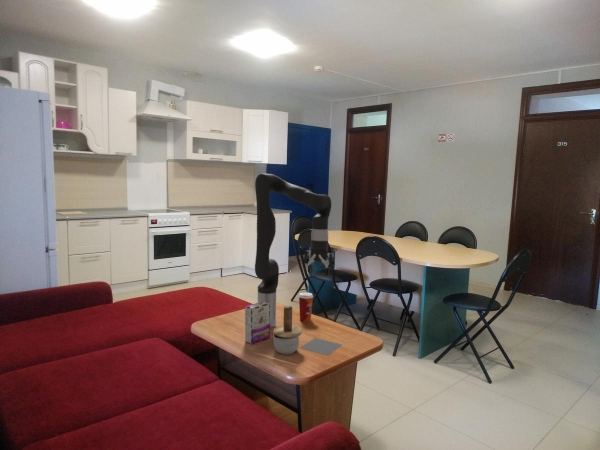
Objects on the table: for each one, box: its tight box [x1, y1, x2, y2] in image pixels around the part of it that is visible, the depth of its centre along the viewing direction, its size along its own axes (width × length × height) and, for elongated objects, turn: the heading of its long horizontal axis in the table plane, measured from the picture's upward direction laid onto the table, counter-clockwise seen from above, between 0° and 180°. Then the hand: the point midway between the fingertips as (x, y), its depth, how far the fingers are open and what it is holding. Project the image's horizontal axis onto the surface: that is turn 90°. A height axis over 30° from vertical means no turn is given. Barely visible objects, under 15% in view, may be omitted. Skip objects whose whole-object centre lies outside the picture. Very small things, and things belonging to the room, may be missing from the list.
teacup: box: [272, 333, 300, 355], centre depth 170 cm, size 14×11×8 cm
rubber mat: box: [299, 337, 343, 356], centre depth 174 cm, size 14×14×1 cm
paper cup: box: [298, 292, 314, 323], centre depth 209 cm, size 8×8×14 cm
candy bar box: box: [244, 302, 271, 345], centre depth 180 cm, size 11×5×16 cm, turn 137°
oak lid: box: [272, 305, 303, 338], centre depth 169 cm, size 12×12×11 cm
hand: (318, 274), depth 181 cm, fingers open, 8 cm apart
